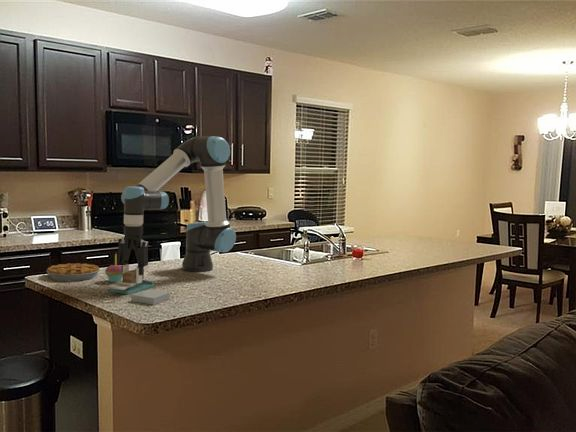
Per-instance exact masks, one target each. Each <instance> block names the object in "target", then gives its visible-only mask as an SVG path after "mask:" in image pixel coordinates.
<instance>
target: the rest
mask: <svg viewBox="0 0 576 432" xmlns="http://www.w3.org/2000/svg"><path fill="white" fill-rule="evenodd" d="M135 283H136V282H135ZM154 287H155V281H153V280H148V279H142V283H138V284H137V283H136V285H133V286H131V287H129V288H127V289H124V290H120V289H111V288H109V292H110V293H117V294H121V295H122V294H124V295H130V294H131V295H132V294H135V293H139V292H142V291H145V290H148V289H151V288H154Z"/></svg>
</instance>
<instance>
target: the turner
mask: <svg viewBox="0 0 576 432" xmlns="http://www.w3.org/2000/svg"><path fill="white" fill-rule="evenodd" d="M144 275H145V273H144V274H143V275H142V280H144ZM135 282H136V268H134V269H131V270H129V271H128V272H126V273H123V277H122V280H121V281H119V282H113V283H111V284H109V285H106V286H105V287H106V289H110V288H111V289H120V290H124V289H127V288H129V287H131V286H133V285H136V283H135Z"/></svg>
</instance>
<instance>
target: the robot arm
mask: <svg viewBox="0 0 576 432" xmlns="http://www.w3.org/2000/svg"><path fill="white" fill-rule="evenodd" d="M230 156H231V148H230V144H229V143H228V141H227V140H225V138H223V137H220V136H214V135H213V136H212V135H210V136H208V135H207V136H201V135H200V136H194V137H192V138H190V139H187V140H186V141H184V142H183V143H182V144H180V145H178V147H176V148H175V149H174V150H173V154H171V155H170V156H169V157H168V158H167V159H166V160H164V161H163V162H162V163H161V164H160V165H159V166H158V167H156V168H155V169H154V170H153V171H152V172H151V173H149V174H148V175H147V176H145V178H144V179H142V180H141V181H140V182H139V183H138V184H136V185H135V186H132V185H131V186H130V185H129V186H125V188H124V190H123V192H122V193H121V196H120V199H121V202H122V204H123V224H124V225H123V235H124V236H123V238H118V239H117V242H118V249H117V250H118V251H117V263H118V264H120V266H122V273H126V272H128V271H130V269H129V268H130V265H129V258H130V255H131V251H132V250H133V252H134V253H135V254H134V255H135V257H136V258H135V259H136V262H137V266H136V268H135V269H136V283H137V284H138V283H142V280H143V279H142V275H143V274H144V275H145V269H144V268H145V267H147V266H149V250H148V249H149V248H148V247H149V243H150V242H149V241H148V240H147V241H146V240H144V239H143V235H144V226H143V224H144V214H145V213H144V211H146V210H147V211H148V210H149V211H150V210H151V211H152V210H154V211H155V210H156V211H157V210H159V211H160V210H164V209H167V207H168V205H169V203H170V197H169V195H168V193H166V191H160V189H161V188H162V187H163V186H164V185H165V184H167V183H168V182H169V181H170V180H171V179H172V178H173V177H175V175H177V174H178V173H179V172H180V171H181V170H183V169H184V167H189V166H190V165H191V164H193V163H197V162H199V164H200V166H199V167H200V168H201V169H202V170H203V174H204V176H203V177H204V185H205V200H206V213H207V221H203V222H202V221H200V222H191V223H188V224H186V231H185V234H186V235H185V237H186V238H185V255H184V258H183V261H182V263H181V269H182V270H184V271H185V272H186V271H187V272H194V273H197V272H198V273H200V272H209V271H213V270H214V263H213V260H212V257H211V256H212V255H211V251H212V252H213V251H214V252H217V253H227V252H229V251H230V250H231V249H233V247H234V246H235V243H236V239H237V234H236V231H235V229H233V228H232V227H231V222H230V221H229V220H228V219H227V211H226V196H225V181H224V170H223V169H224V168H225V167H226V163H227V161H228V160H229V157H230ZM158 190H159V191H158Z"/></svg>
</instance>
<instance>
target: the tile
mask: <svg viewBox="0 0 576 432" xmlns="http://www.w3.org/2000/svg"><path fill="white" fill-rule="evenodd" d="M130 298H131V302H135V303H140V304H141V303H142V304H146V305H147V304H148V305H153V306H154V305H156V304H159V303H163V302H165V301H169V300H171V292H169V291H161V290H154V289H150V288H148V289H145V290H141V291H138V292H135V293H131V297H130Z"/></svg>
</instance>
